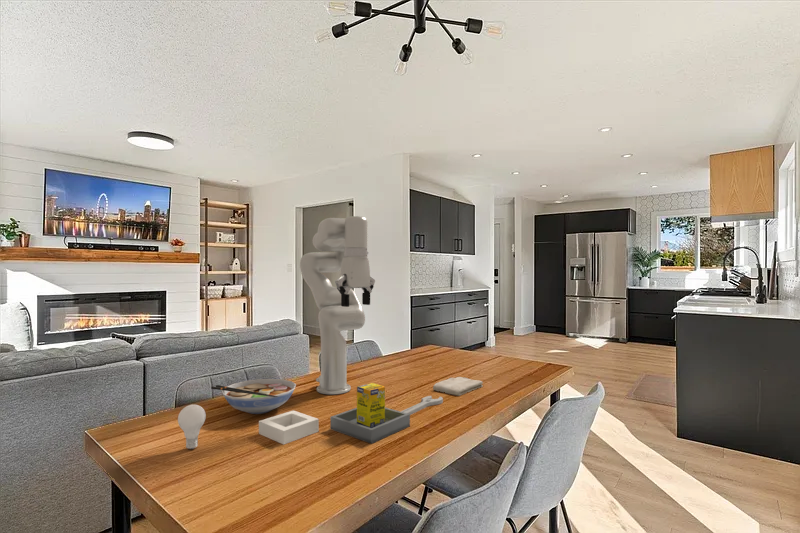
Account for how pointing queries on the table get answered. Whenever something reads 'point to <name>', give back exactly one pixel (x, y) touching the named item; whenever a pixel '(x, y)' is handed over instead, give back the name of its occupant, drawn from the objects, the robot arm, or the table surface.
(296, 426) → the socket collar
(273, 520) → the table surface
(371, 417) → the supplement box
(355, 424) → the tray
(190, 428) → the lightbulb
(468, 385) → the washcloth
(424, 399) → the adjustable wrench
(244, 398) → the ramen bowl
